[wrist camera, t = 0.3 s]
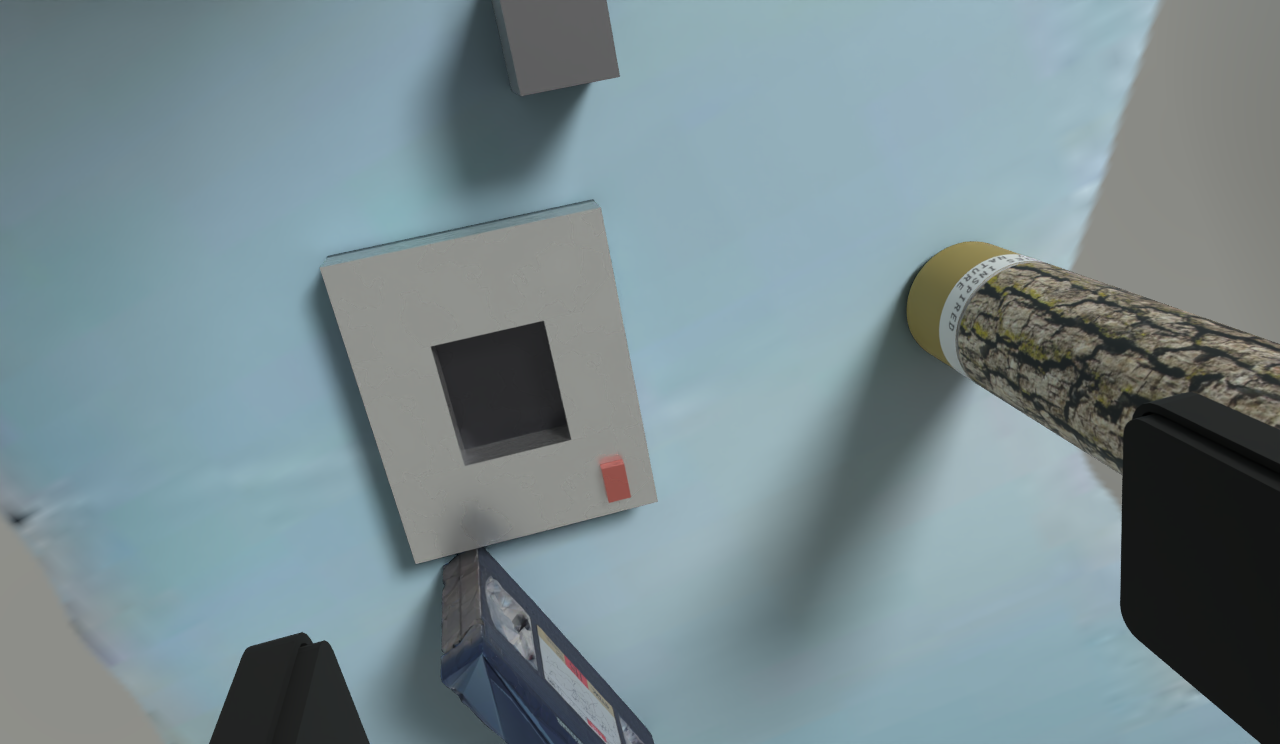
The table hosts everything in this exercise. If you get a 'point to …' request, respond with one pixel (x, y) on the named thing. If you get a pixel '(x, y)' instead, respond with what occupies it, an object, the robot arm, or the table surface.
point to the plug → (555, 43)
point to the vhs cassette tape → (522, 664)
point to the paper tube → (1080, 346)
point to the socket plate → (495, 377)
